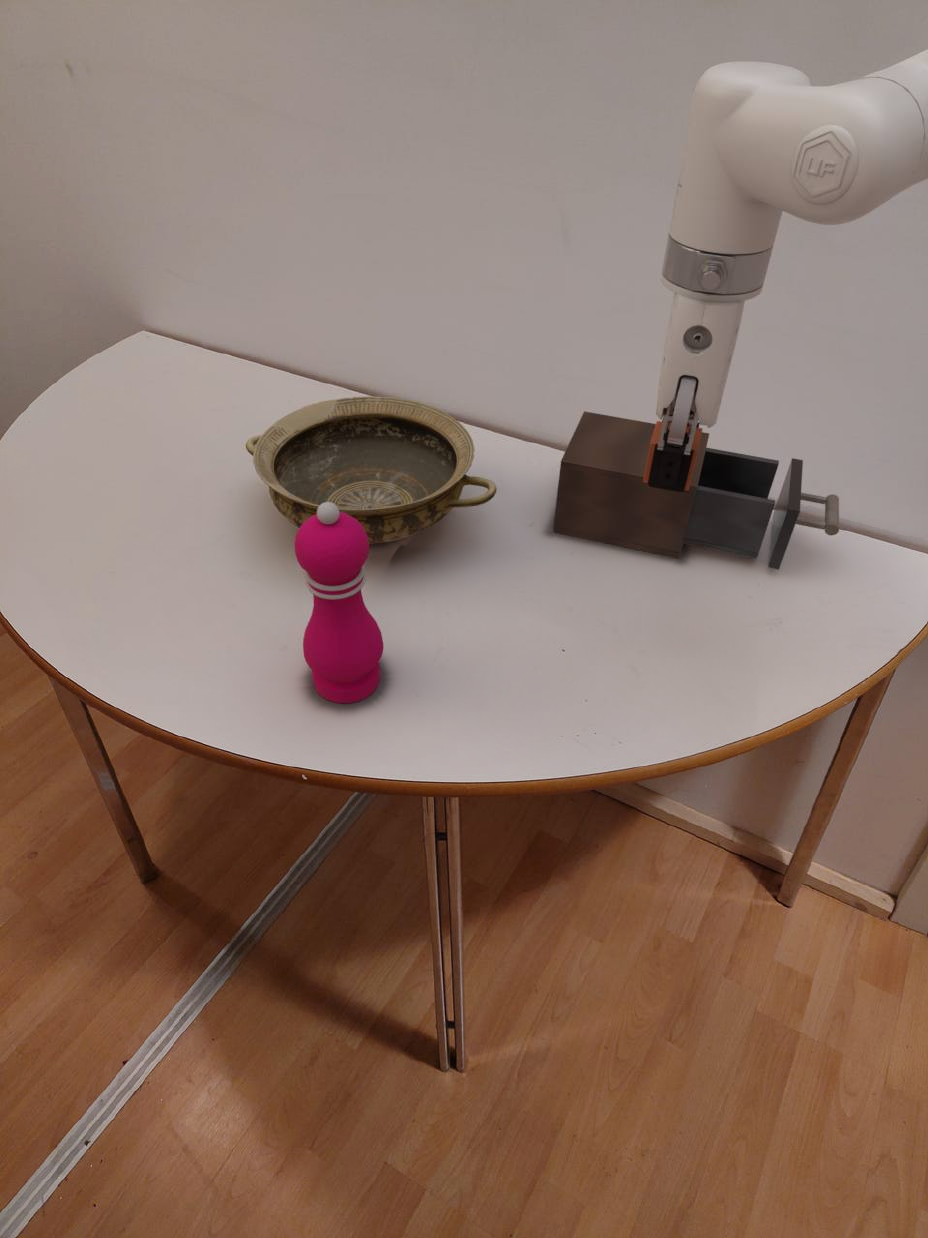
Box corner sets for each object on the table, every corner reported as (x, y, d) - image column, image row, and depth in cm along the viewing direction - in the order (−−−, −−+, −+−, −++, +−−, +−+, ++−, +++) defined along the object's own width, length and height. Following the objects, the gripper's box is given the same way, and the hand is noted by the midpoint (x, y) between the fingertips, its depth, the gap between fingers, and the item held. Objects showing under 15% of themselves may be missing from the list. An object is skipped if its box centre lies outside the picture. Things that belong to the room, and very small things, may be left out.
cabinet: (692, 503, 100) (709, 433, 93) (679, 559, 92) (697, 486, 85) (575, 480, 103) (584, 410, 97) (552, 532, 95) (560, 460, 88)
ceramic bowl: (523, 495, 100) (529, 422, 94) (451, 617, 84) (452, 539, 77) (306, 445, 108) (297, 374, 101) (201, 548, 91) (182, 472, 85)
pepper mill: (348, 720, 74) (328, 544, 60) (292, 683, 77) (260, 508, 63) (401, 674, 78) (392, 499, 64) (345, 641, 81) (326, 468, 67)
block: (693, 467, 74) (702, 428, 72) (688, 490, 72) (698, 450, 69) (649, 459, 75) (656, 420, 73) (642, 482, 72) (650, 442, 70)
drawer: (824, 525, 95) (847, 467, 90) (823, 579, 88) (848, 520, 83) (668, 494, 100) (681, 437, 94) (655, 544, 92) (668, 485, 87)
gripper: (761, 313, 54) (702, 535, 67) (771, 234, 66) (719, 435, 79) (648, 298, 56) (611, 517, 68) (677, 223, 68) (641, 422, 80)
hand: (669, 471), depth 73 cm, fingers closed on block, 4 cm apart
